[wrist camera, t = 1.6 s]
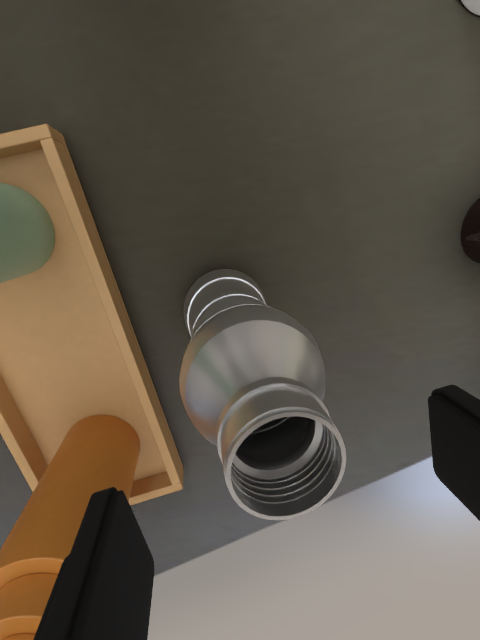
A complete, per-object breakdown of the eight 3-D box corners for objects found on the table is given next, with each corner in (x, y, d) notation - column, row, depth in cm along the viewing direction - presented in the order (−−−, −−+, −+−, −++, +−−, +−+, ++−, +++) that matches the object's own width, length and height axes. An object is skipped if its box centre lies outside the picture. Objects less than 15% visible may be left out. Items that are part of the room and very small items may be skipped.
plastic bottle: (189, 345, 29) (187, 579, 10) (178, 267, 27) (153, 377, 8) (261, 336, 30) (388, 538, 11) (256, 260, 28) (400, 344, 9)
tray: (-109, 173, 23) (-149, 167, 20) (62, 134, 23) (46, 123, 21) (64, 503, 32) (53, 529, 29) (183, 467, 33) (183, 489, 30)
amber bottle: (52, 426, 29) (-240, 865, 9) (126, 405, 29) (-3, 781, 10) (80, 484, 31) (-110, 947, 11) (149, 463, 31) (82, 874, 12)
